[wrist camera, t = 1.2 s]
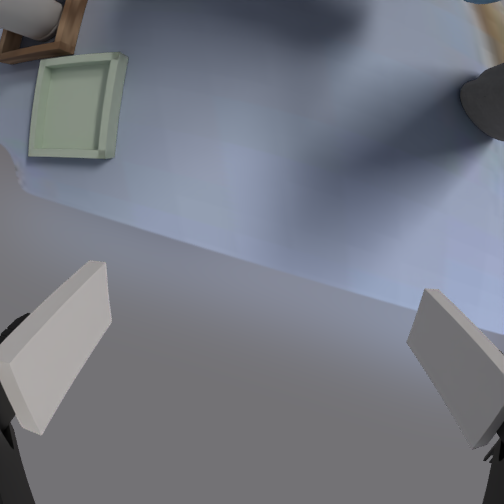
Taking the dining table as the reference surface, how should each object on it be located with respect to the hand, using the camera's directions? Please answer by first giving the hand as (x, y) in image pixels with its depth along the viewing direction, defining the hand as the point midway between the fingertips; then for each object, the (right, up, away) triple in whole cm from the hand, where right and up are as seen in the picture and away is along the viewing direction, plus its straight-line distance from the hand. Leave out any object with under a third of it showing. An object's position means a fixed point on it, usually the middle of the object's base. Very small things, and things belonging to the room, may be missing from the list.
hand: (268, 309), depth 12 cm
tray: (-23, +21, +22) cm, 38 cm away
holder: (-29, +35, +17) cm, 48 cm away
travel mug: (-29, +35, +17) cm, 48 cm away
